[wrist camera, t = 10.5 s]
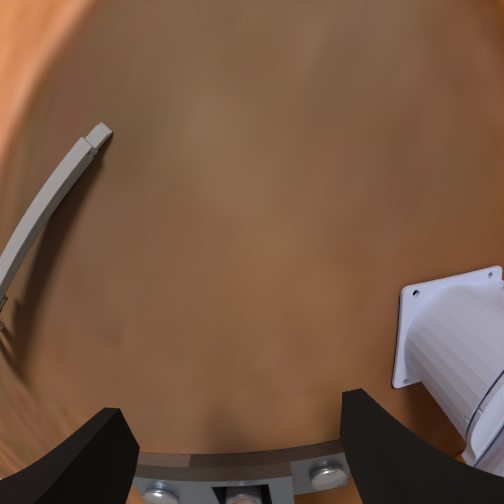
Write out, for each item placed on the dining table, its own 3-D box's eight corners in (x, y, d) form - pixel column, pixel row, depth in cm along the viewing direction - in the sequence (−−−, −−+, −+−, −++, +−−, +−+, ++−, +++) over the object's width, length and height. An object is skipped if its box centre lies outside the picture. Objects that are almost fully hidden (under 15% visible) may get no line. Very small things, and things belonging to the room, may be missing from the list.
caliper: (1, 340, 19) (-41, 375, 12) (-7, 331, 18) (-49, 364, 12) (115, 132, 15) (54, 115, 9) (104, 122, 15) (42, 102, 9)
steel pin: (255, 460, 21) (258, 528, 14) (263, 476, 22) (267, 539, 15) (223, 465, 21) (219, 531, 14) (232, 480, 22) (231, 542, 15)
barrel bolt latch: (348, 437, 20) (360, 470, 17) (343, 474, 22) (352, 503, 18) (136, 451, 21) (125, 482, 17) (158, 486, 22) (151, 514, 18)
